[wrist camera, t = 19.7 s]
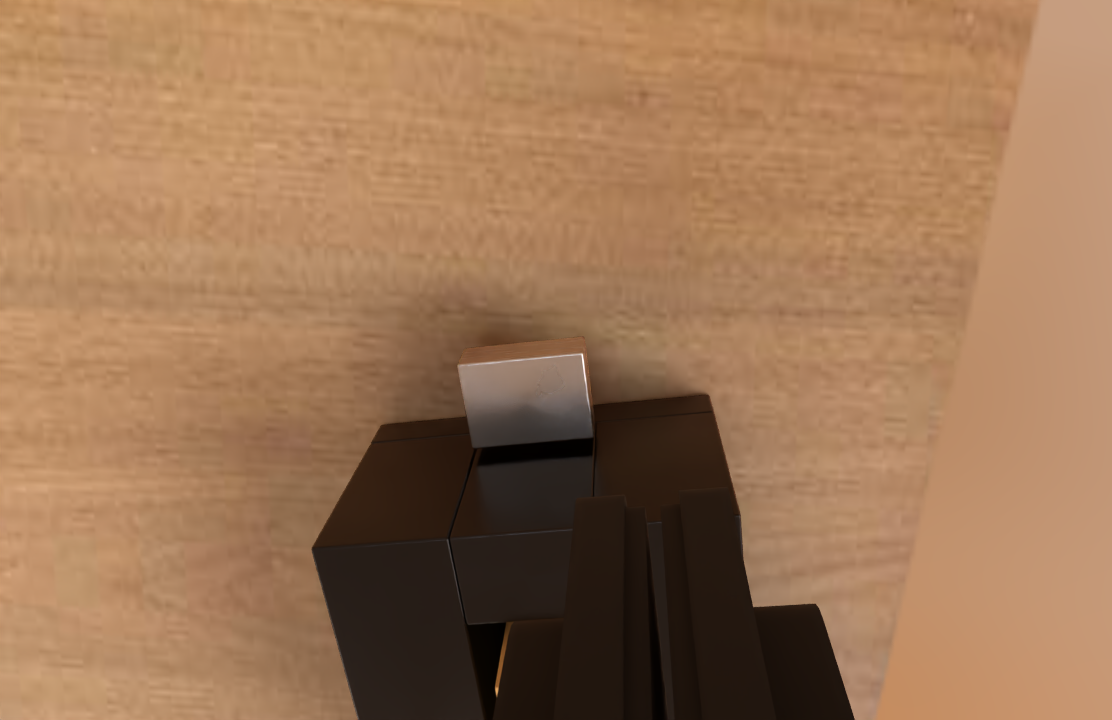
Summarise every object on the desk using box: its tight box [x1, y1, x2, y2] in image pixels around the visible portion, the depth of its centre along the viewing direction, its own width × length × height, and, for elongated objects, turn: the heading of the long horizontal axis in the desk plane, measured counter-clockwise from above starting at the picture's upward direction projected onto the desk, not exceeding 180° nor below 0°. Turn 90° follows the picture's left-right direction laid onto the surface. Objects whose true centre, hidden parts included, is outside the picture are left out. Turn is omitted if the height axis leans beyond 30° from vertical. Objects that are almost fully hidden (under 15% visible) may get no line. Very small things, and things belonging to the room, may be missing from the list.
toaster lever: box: [457, 336, 595, 449], centre depth 28 cm, size 4×3×2 cm
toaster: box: [312, 395, 743, 720], centre depth 30 cm, size 12×16×8 cm
